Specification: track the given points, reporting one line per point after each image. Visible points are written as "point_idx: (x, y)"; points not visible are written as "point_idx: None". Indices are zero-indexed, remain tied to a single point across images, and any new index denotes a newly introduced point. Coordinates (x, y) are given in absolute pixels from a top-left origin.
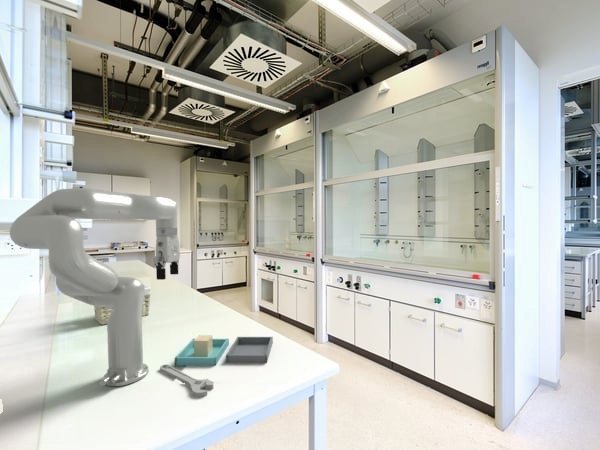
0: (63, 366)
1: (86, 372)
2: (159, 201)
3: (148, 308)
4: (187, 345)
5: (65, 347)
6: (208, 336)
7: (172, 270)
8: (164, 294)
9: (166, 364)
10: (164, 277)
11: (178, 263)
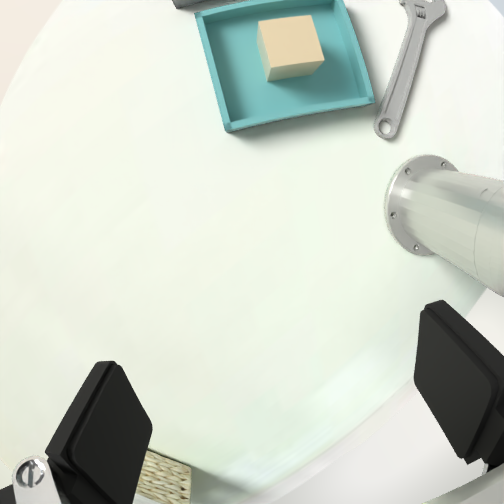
0: (394, 375)
1: (418, 309)
2: None
3: None
4: (285, 114)
5: (312, 442)
6: (272, 28)
7: (132, 440)
8: (5, 443)
9: (377, 127)
10: (451, 311)
11: (27, 460)
